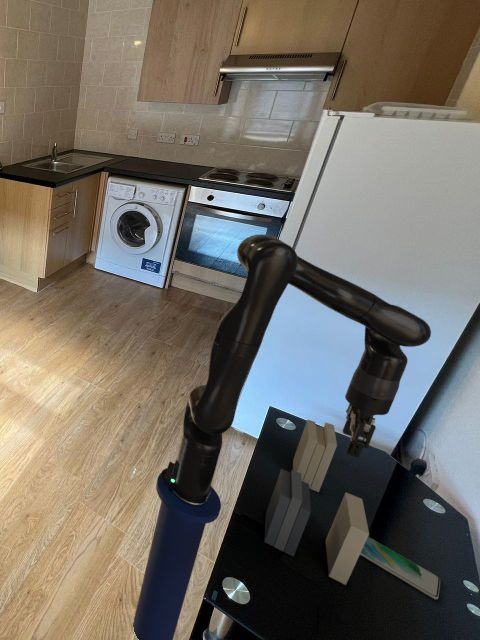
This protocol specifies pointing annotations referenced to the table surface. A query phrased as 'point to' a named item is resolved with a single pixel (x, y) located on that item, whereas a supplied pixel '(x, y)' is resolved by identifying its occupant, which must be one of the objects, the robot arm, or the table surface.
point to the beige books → (315, 453)
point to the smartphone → (402, 568)
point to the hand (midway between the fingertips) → (349, 444)
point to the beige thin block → (346, 538)
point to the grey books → (287, 512)
